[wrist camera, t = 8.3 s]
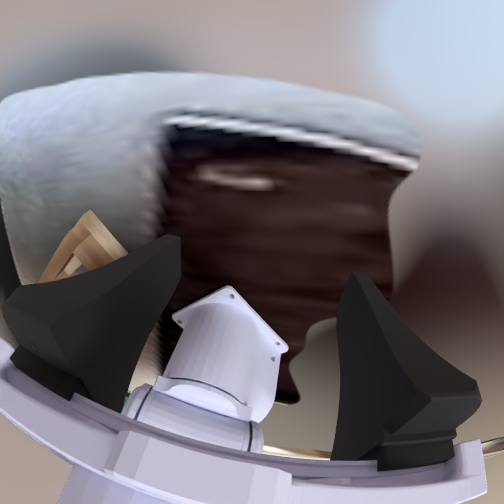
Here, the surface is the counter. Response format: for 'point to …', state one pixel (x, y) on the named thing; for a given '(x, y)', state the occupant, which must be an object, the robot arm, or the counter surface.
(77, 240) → the socket holder
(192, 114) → the counter surface
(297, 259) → the counter surface
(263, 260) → the counter surface
